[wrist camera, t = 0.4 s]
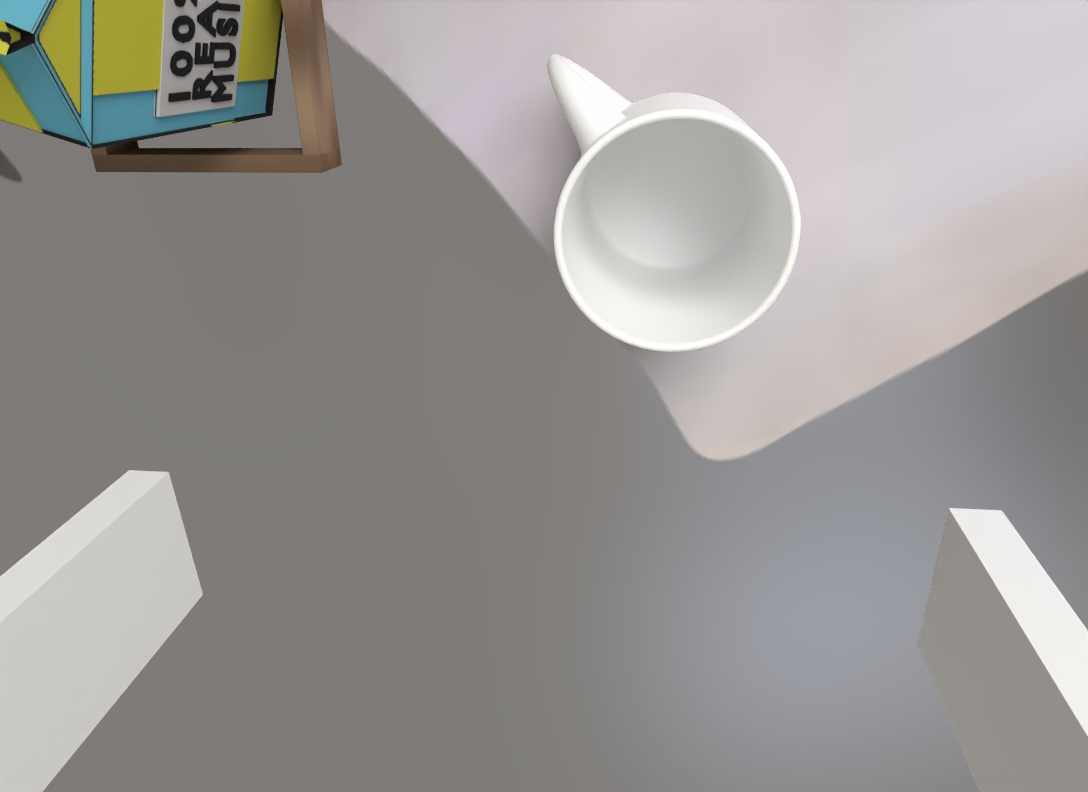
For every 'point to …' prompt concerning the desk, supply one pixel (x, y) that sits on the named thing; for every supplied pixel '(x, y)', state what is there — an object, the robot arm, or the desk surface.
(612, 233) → the mug
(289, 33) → the frame
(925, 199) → the desk surface
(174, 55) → the carton
